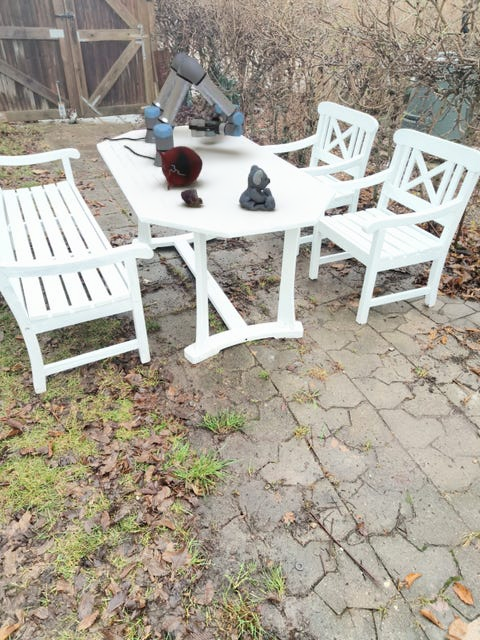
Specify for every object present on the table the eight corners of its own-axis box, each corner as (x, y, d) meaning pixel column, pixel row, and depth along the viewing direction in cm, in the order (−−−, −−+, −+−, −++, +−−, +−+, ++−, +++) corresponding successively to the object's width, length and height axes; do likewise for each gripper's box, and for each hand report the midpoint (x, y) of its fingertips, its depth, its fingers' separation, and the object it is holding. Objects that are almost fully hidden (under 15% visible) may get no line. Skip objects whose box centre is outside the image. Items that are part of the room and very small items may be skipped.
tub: (199, 135, 334) (198, 122, 329) (209, 132, 341) (209, 120, 336) (209, 137, 328) (209, 124, 323) (219, 135, 335) (219, 122, 330)
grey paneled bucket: (188, 136, 318) (187, 120, 312) (198, 133, 324) (197, 118, 318) (197, 138, 313) (197, 122, 307) (207, 136, 319) (207, 120, 313)
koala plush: (276, 211, 223) (277, 171, 212) (240, 212, 222) (240, 172, 211) (271, 199, 237) (272, 161, 226) (237, 200, 236) (237, 162, 225)
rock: (196, 202, 238) (178, 205, 233) (194, 185, 234) (176, 188, 230) (205, 205, 228) (187, 208, 224) (203, 188, 224) (185, 191, 220)
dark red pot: (160, 151, 264) (154, 150, 240) (199, 143, 263) (196, 140, 240) (169, 188, 271) (164, 190, 247) (207, 180, 270) (206, 181, 246)
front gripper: (213, 137, 302) (184, 134, 310) (228, 131, 319) (201, 128, 327) (212, 125, 298) (184, 122, 306) (228, 120, 314) (200, 117, 322)
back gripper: (231, 127, 345) (223, 133, 327) (202, 125, 350) (192, 131, 332) (231, 116, 341) (222, 122, 323) (201, 115, 346) (192, 120, 328)
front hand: (192, 125), depth 316 cm, fingers closed on grey paneled bucket, 10 cm apart
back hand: (207, 127), depth 328 cm, fingers closed on tub, 11 cm apart
